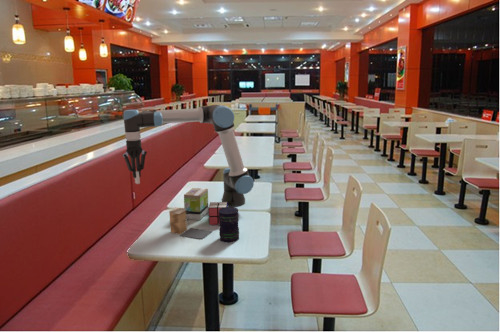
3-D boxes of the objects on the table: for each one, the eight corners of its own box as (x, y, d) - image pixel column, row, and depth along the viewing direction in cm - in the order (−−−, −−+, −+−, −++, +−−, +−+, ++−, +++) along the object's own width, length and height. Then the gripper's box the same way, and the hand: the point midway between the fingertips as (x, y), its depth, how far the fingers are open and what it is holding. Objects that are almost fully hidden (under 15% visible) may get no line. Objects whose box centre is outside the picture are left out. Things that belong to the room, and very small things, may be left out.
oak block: (170, 232, 207) (169, 210, 204) (177, 228, 212) (175, 207, 209) (180, 234, 204) (179, 212, 202) (186, 230, 210) (185, 208, 207)
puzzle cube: (227, 224, 216) (226, 207, 214) (209, 225, 216) (208, 207, 214) (228, 218, 226) (227, 201, 224) (210, 218, 226) (210, 202, 224)
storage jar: (215, 239, 197) (214, 210, 194) (229, 233, 204) (228, 205, 201) (229, 244, 191) (228, 215, 187) (243, 238, 198) (242, 209, 195)
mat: (179, 236, 202) (179, 235, 202) (190, 228, 212) (190, 227, 212) (202, 239, 197) (202, 238, 197) (212, 231, 207) (212, 230, 207)
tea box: (201, 220, 224) (199, 195, 220) (184, 219, 226) (182, 194, 222) (209, 211, 238) (207, 188, 235) (193, 210, 240) (191, 187, 237)
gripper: (142, 137, 214) (146, 179, 219) (118, 140, 206) (123, 184, 211) (148, 138, 208) (151, 182, 213) (124, 141, 200) (128, 186, 205)
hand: (137, 183), depth 212 cm, fingers closed
